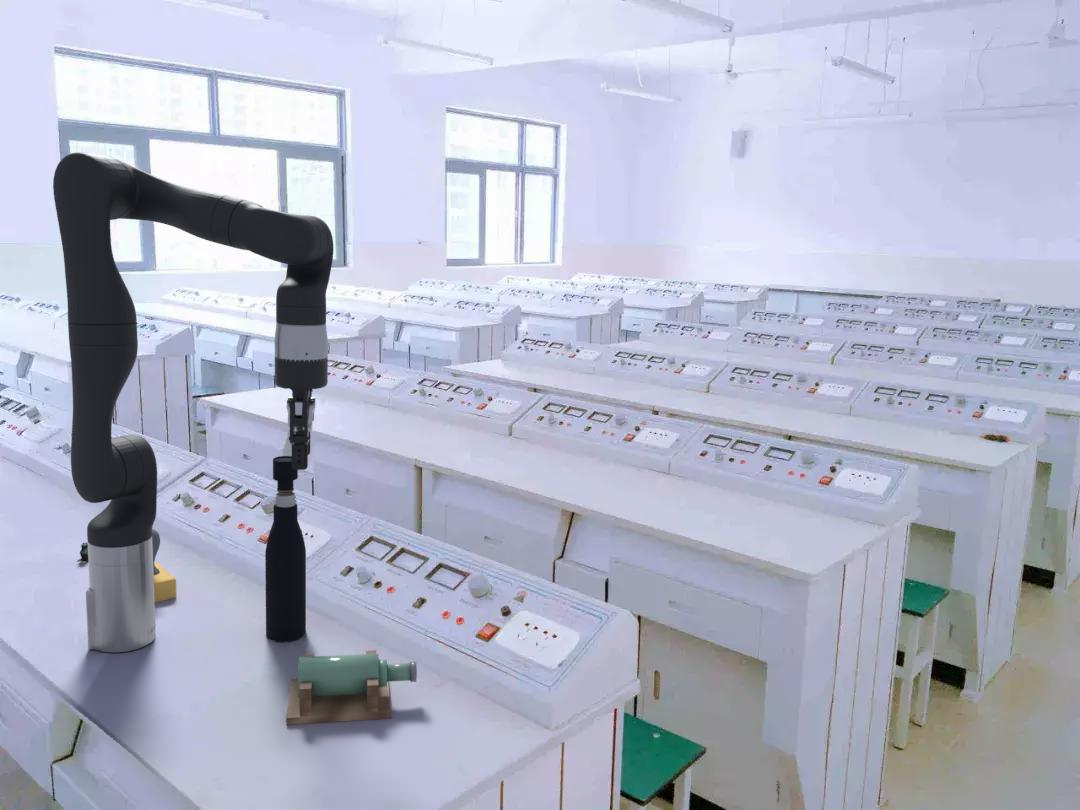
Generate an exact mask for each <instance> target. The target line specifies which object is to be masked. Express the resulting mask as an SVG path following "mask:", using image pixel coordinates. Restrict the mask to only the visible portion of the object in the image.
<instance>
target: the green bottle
mask: <svg viewBox="0 0 1080 810" xmlns="http://www.w3.org/2000/svg"><path fill="white" fill-rule="evenodd" d="M298 657H299V658H298V663H297V664H298V665H297V678H298V698H300V683H301V682H311V681H312V697H324V696H342V695H361V694H367V679H368V678H378V687H387V682H388V683H389V682H390V683H391V682H410V683H413V682H414V683H415V682H417V678H418V674H417V673H418V671H417V670H418V669H417V666H418V665H417V661H409V662H407V663H388V660H387V659H379V653H377V654H366V653H364V654H342V655H341V654H340V655H339V654H337V655H319V656H318V655H317V656H315V655H314V657H304V656H298Z"/></svg>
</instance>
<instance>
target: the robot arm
mask: <svg viewBox="0 0 1080 810" xmlns="http://www.w3.org/2000/svg"><path fill="white" fill-rule="evenodd" d="M52 185H53V186H52V188H53V199H54V204H55V205H54V207H55V211H56V217H57V222H58V228H59V234H60V239H61V246H62V253H63V263H64V265H63V266H64V277H65V285H66V286H65V287H66V299H67V300H66V301H67V322H68V323H67V327H68V345H69V353H70V363H71V364H70V365H71V366H70V367H71V382H72V423H71V439H70V440H71V443H70V468H71V469H70V470H71V476H72V481H73V485H74V487H75V489H76V492H77V494H78V495H79V496H80V497H81V498H82V499H83V500H84V501H85V502H89V503H92V504H98V503H104V502H108V501H110V502H109V503H108V505H107V506H106V507H105V508H104V509H103V510H102V511H101V512H100V513H98V514H97V515H96V516H94V517H93V518H92V519H91V520H90V521H89V523H88V524H87V527H86V537H87V538H86V540H87V543H88V559H89V563H88V579H89V587H88V589H87V590H86V591H85V604H86V605H85V607H86V609H85V610H86V626H87V628H86V629H87V646H88V647H87V648H88V650H97V651H100V652H104V653H124V652H131V651H135V650H138V649H141V648H144V647H146V646H147V645H149V644H151V643H152V642H154V640H156V626H157V624H156V608H155V604H156V602H154V574H153V546H152V529H153V526H154V523H155V521H156V516H157V507H158V506H157V504H158V503H157V500H158V498H157V497H158V465H157V459H156V455H155V452H154V450H153V448H152V446H151V444H150V443H149V441H147V439H146V438H144V437H142V436H140V435H136V434H127V435H120V436H116V437H112V426H113V425H112V424H113V423H112V422H113V414H114V409H115V406H116V403H117V400H119V396H120V394H121V392H122V390H123V388H124V386H125V384H126V382H127V380H128V378H129V377H130V375H131V373H132V370H133V368H134V366H135V363H136V360H137V356H138V352H139V351H138V349H139V347H138V343H139V341H138V325H137V312H136V307H135V304H134V300H133V298H132V296H131V294H130V292H129V290H128V287H127V286H126V283H125V281H124V279H123V277H122V275H121V273H120V270H119V268H118V267H117V264H116V261H115V259H114V258H115V257H114V254H113V253H114V252H113V248H112V235H111V221H112V220H113V221H114V220H118V219H119V220H120V219H121V220H123V219H124V220H135V221H148V222H155V223H159V224H163V225H167V226H171V227H174V228H176V229H178V230H181V231H182V232H185V233H188V234H190V235H191V236H194V237H196V238H200V239H202V240H206V241H209V242H212V243H215V244H218V245H222V246H226V247H231V248H233V249H234V248H235V249H238V250H244V251H249V252H252V254H255V255H258V256H261V257H263V258H265V259H269V260H271V261H274V262H277V263H281V264H285V265H286V266H287V267H286V275H285V279H284V281H283V282H282V283H281V284H279V286H278V287H277V289H276V296H275V298H276V299H275V311H276V312H275V313H276V314H275V324H276V325H275V333H274V385H276V387H278V388H281V389H285V390H286V389H287V390H291V392H292V394H291V396H288V398H287V400H286V412H287V429H288V430H289V436H288V441H289V443H290V445H291V456H292V468H293V469H294V470H298V471H299V470H307V469H308V465H309V463H308V461H309V460H308V459H309V458H308V456H309V455H310V454H311V431H312V430H313V423H314V421H315V412H316V411H315V410H316V401H317V400H316V397H313V394H312V393H313V392H314V390H319V389H322V388H324V387H326V386H327V385H328V377H329V376H328V371H329V369H328V366H329V365H328V363H329V362H328V361H329V359H328V357H329V352H328V351H329V340H328V331H327V297H326V296H327V288H328V287H329V286H328V285H329V281H330V275H331V272H332V271H331V270H332V266H333V260H334V238H333V234H332V231H331V229H330V228H329V226H328V224H327V223H326V222H325V221H324V220H323V219H321V218H320V217H317V216H315V215H309V214H308V215H304V214H295V213H289V212H285V211H284V212H283V211H279V210H275V209H271V208H266V207H264V206H262V205H261V204H258V203H256V202H253V201H250V200H247V199H243V198H238V197H235V196H231V195H228V194H224V193H221V192H220V193H219V192H215V191H209V190H205V189H200V188H194V187H191V186H185V185H182V184H178V183H175V182H171V181H168V180H166V179H164V178H163V179H162V178H160V177H157V176H155V175H152V174H150V173H149V172H146V171H143V170H142V169H139V168H137V167H136V166H133V165H131V164H128V163H127V162H124V161H122V160H120V159H119V158H116V157H114V156H113V157H112V156H107V155H102V154H93V153H88V152H80V151H78V152H72V153H69V154H67V155H65V156H64V157H63V158H62V159H60V161H59V162H58V164H57V165H56V168H55V170H54V175H53V180H52Z"/></svg>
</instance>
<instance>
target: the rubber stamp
mask: <svg viewBox="0 0 1080 810" xmlns="http://www.w3.org/2000/svg"><path fill="white" fill-rule="evenodd" d="M160 544H161V536H160V534H159V532H158V531H157V530H156V529H154V528H152V546H153V574H154V602H155V603H157V602H160V601H161V602H162V601H166V600H170V599H175V598H176V597H177V596H178V595H177V578H175V577H174V576H173V575H172V574H171V573H170V572H169V571H167V570H166V568H164V567H163V566H162V565H161V564H160V563H158V562H156V557H157V554H158V551H159V549H160V547H161V546H160Z"/></svg>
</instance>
